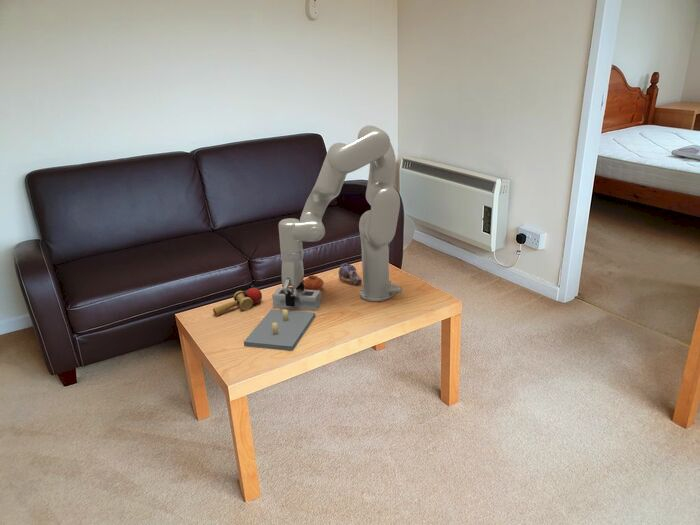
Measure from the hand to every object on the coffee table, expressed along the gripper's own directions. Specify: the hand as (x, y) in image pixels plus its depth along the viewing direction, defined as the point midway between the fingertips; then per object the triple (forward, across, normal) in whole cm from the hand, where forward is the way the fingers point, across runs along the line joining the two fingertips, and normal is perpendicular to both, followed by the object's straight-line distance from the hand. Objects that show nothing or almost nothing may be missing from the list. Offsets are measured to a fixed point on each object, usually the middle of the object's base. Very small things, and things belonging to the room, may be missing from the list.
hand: (295, 299), depth 184 cm
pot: (+2, -12, +3) cm, 13 cm away
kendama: (+3, +5, -20) cm, 21 cm away
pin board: (+2, +18, +2) cm, 18 cm away
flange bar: (+2, 0, 0) cm, 2 cm away
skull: (+2, -24, +14) cm, 28 cm away
